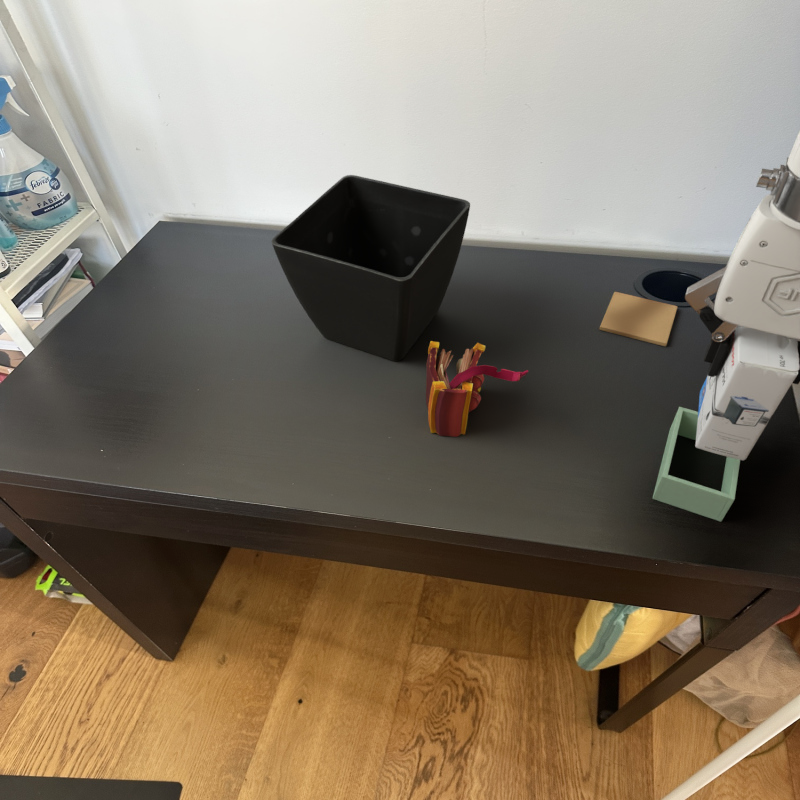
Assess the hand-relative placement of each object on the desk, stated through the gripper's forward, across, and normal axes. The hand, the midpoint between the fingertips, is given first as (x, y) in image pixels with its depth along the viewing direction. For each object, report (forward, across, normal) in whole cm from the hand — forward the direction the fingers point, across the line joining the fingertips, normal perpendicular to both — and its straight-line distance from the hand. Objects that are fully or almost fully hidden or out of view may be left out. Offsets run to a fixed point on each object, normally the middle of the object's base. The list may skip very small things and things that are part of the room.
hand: (747, 374), depth 59 cm
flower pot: (+15, -45, +9) cm, 48 cm away
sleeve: (+15, -1, 0) cm, 15 cm away
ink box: (+7, 0, 0) cm, 7 cm away
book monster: (+15, -27, -2) cm, 31 cm away
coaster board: (+15, -12, +25) cm, 32 cm away
